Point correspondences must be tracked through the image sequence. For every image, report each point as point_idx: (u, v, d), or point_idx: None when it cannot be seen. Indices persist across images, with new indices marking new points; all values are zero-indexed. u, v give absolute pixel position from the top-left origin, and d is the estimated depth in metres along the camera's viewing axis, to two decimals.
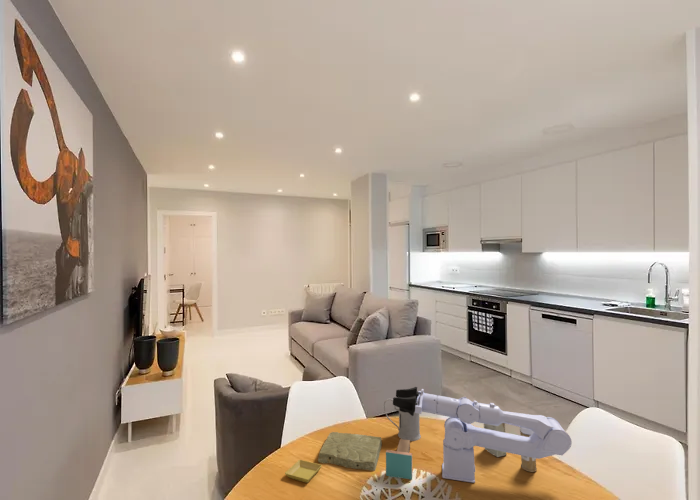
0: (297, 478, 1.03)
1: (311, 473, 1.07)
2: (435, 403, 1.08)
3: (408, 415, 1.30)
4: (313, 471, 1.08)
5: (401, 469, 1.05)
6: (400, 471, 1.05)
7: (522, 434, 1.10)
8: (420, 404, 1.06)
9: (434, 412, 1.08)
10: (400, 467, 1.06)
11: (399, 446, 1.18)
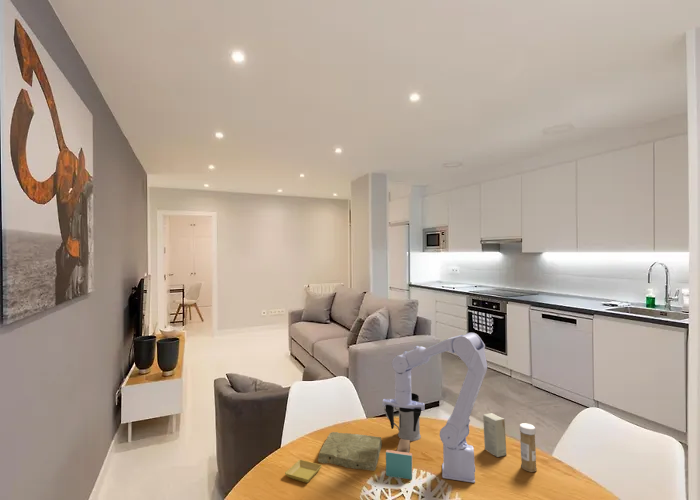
0: (297, 478, 1.03)
1: (311, 473, 1.07)
2: None
3: (408, 415, 1.30)
4: (313, 471, 1.08)
5: (401, 469, 1.05)
6: (400, 471, 1.05)
7: (522, 434, 1.10)
8: None
9: (396, 391, 1.20)
10: (400, 467, 1.06)
11: (399, 446, 1.18)
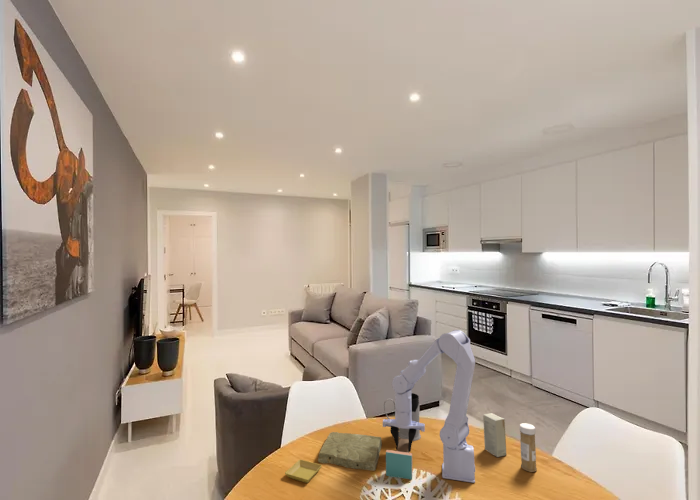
0: (297, 478, 1.03)
1: (311, 473, 1.07)
2: None
3: None
4: (313, 471, 1.08)
5: (401, 469, 1.05)
6: (400, 471, 1.05)
7: (522, 434, 1.10)
8: None
9: (396, 412, 1.19)
10: (400, 467, 1.06)
11: (399, 445, 1.18)
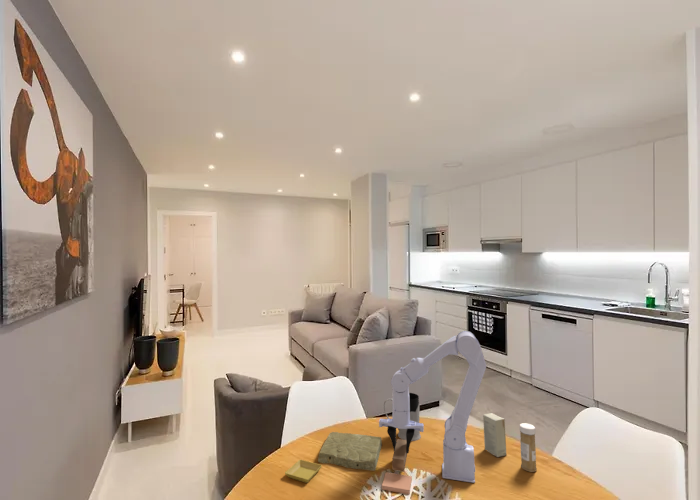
0: (297, 478, 1.03)
1: (311, 473, 1.07)
2: None
3: None
4: (313, 471, 1.08)
5: None
6: None
7: (522, 434, 1.10)
8: None
9: (393, 411, 1.12)
10: None
11: (396, 447, 1.11)
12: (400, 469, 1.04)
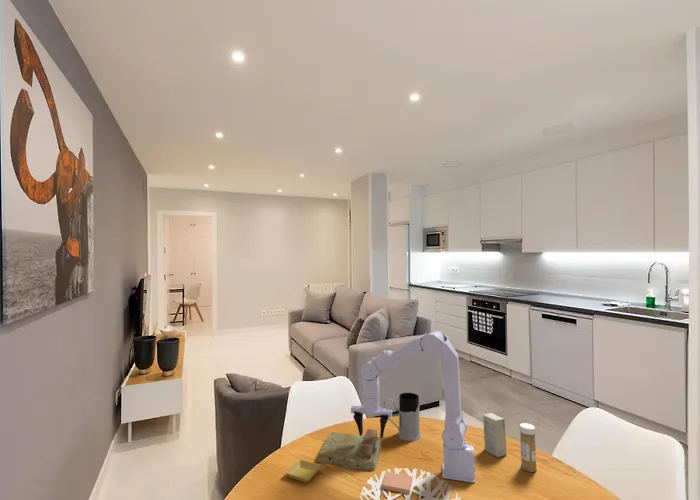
0: (297, 478, 1.03)
1: (311, 473, 1.07)
2: None
3: (408, 415, 1.30)
4: (313, 471, 1.08)
5: None
6: None
7: (522, 434, 1.10)
8: None
9: (364, 398, 1.20)
10: None
11: (365, 436, 1.19)
12: (367, 455, 1.12)
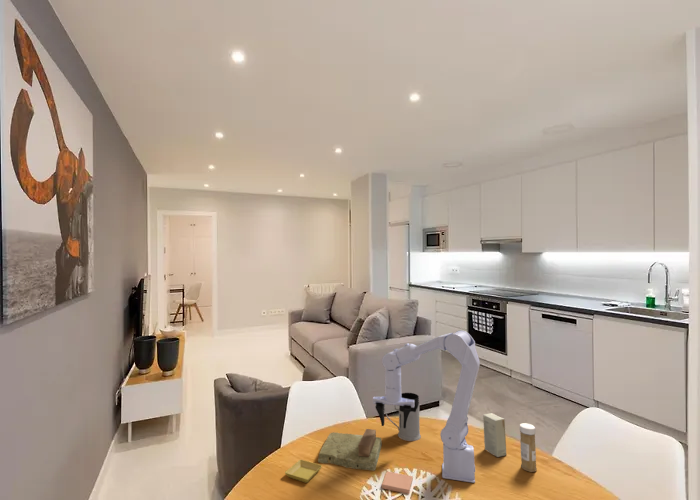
0: (297, 478, 1.03)
1: (311, 473, 1.07)
2: None
3: (408, 415, 1.30)
4: (313, 471, 1.08)
5: None
6: None
7: (522, 434, 1.10)
8: None
9: (386, 388, 1.20)
10: None
11: (364, 435, 1.19)
12: (365, 455, 1.12)
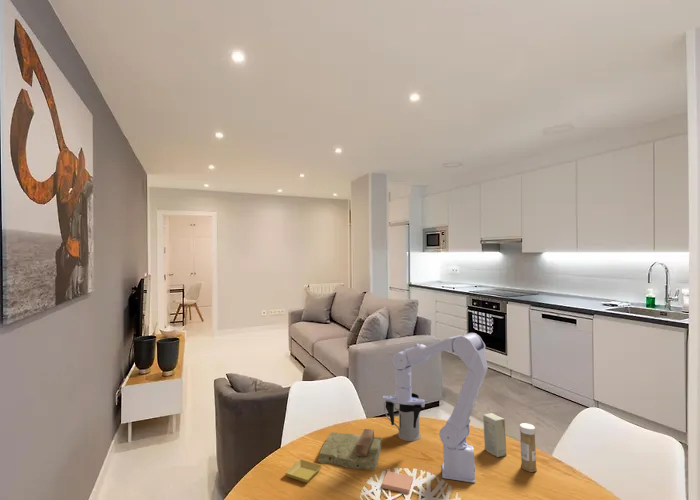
0: (297, 478, 1.03)
1: (311, 473, 1.07)
2: None
3: (408, 415, 1.30)
4: (313, 471, 1.08)
5: None
6: None
7: (522, 434, 1.10)
8: None
9: (396, 388, 1.20)
10: None
11: (362, 435, 1.19)
12: (363, 455, 1.12)
